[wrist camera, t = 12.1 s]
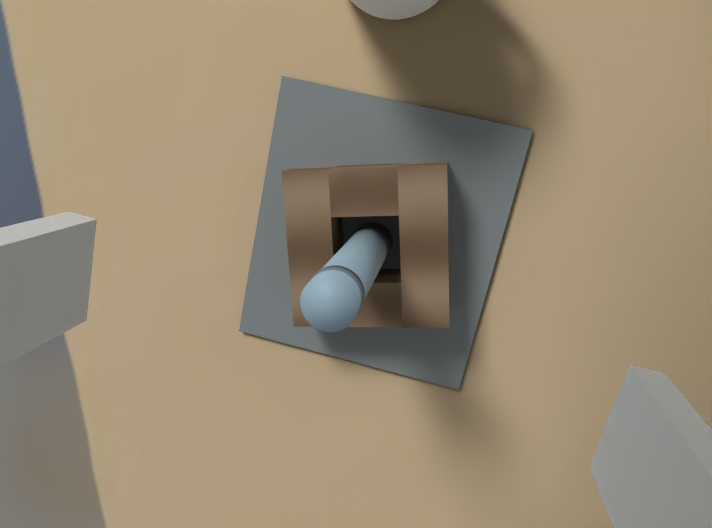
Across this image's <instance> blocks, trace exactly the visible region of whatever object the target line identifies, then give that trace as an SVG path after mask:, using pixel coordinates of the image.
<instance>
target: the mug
mask: <svg viewBox="0 0 712 528" xmlns="http://www.w3.org/2000/svg"><path fill="white" fill-rule="evenodd" d="M350 1H351V2H352V3H353V4H355V5H356V6H357V7H358V8H359V9H361V10H363V11H364V12H366V13H368V14H370V15H372V16H375V17H378V18H382V19H389V20H399V19H406V18H410V17H413V16H416V15H418V14H420V13H423V12H424V11H426V10H428V9H429V8H431V7H432V6H433V5H434V4H436V3H437V2H438V1H439V0H350Z"/></svg>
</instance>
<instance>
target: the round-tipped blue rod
mask: <svg viewBox="0 0 712 528" xmlns="http://www.w3.org/2000/svg"><path fill="white" fill-rule="evenodd" d="M391 246H392V237H391V234H390V232H389V230H388V229H387V228H386V227H385V226H383V225H382V224H379V223H367V224H365V225H363V226H362V227H361V228H360V229H359V230H358V231H357V232H356V233H355V234H354V235H353V236H352V237H351V238H350V239H349V240H348V241H347V242H346V243H345V244H344V246H343V247H342V248H341V249H340V250H339V251H338V252H337V253H336V254H335V255H334V256H333V257H332V258H331V259H330V260H329V261H328V262H327V264H326V265H325V266H324V267H323V268H322V269H321V270H319V271H318V272H317V273H316V274H315V275H314V276H313V277H312V278H311V279H310V281H309V282H308V284H307V285H306V286H305V287H304V289H303V291H302V294H301V298H300V306H301V311H302V313H303V315H304V317H305V319H306V320H307V321H308V322H309V323H310V324H311V325H312V326H313V327H315V328H317V329H319V330H321V331H325V332H336V331H340V330H343V329H345V328H346V327H348V326H349V325H350V324H351V323H352V322H353V320H354V319H355V317H356V316H357V314H358V313H359V311H360V309H361V307H362V305H363V303H364V299H365V297H366V295H367V293H368V292H369V290H370V288H371V286H372V284H373V282H374V280H375V278H376V276H377V274H378V272H379V270H380V268H381V266H382V265H383V263H384V261H385V259H386V257H387V255H388V253H389V251H390V249H391Z"/></svg>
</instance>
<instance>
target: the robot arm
mask: <svg viewBox="0 0 712 528" xmlns="http://www.w3.org/2000/svg"><path fill="white" fill-rule="evenodd" d="M96 221H97V219H94V218H90V217H86V216H83V215H79V214H75V213H72V212H65V213H61V214H57V215H52V216H48V217H44V218H40V219H36V220H32V221H27V222H23V223H19V224H15V225H10V226H6V227H2V228H0V367H2V366H3V365H5V364H7V363H9V362H11V361H13V360H14V359H16V358H18V357H20V356H22V355H24V354H25V353H27V352H29V351H31V350H33V349H35V348H36V347H38V346H40V345H42V344H44V343H46V342H47V341H49V340H51V339H53V338H55V337H57V336H58V335H60V334H62V333H64V332H66V331H68V330H69V329H71V328H73V327H75V326H77V325H79V324H80V323H82V322H84V321H86V320H87V310H88V300H89V290H90V280H91V270H92V260H93V250H94V240H95V230H96ZM589 467H590V470H591V472H592V475H593V478H594V480H595V483H596V485H597V488H598V490H599V493H600V495H601V498H602V500H603V503H604V505H605V508H606V511H607V513H608V516H609V518H610V521H611V523H612V526H613V528H712V430H711V428H710V427H709V426H708V425H707V424H706V423H705V421H704V420H703V419H702V418H701V417H700V415H699V414H698V413H697V412H696V411H695V409H694V408H693V407H692V406H691V405H690V403H689V402H688V401H687V400H686V399H685V397H684V396H683V395H682V394H681V393H680V391H679V390H678V389H677V388H676V387H675V385H674V384H673V383H672V382H671V381H670V379H669V378H668V377H667V376H666V375H665V374H664V373H660V372H657V371H653V370H649V369H646V368H642V367H638V366H635V365H631V364H630V366H629V369H628V371H627V374H626V376H625V379H624V381H623V384H622V386H621V389H620V391H619V394H618V396H617V399H616V401H615V404H614V406H613V409H612V411H611V414H610V416H609V419H608V421H607V424H606V426H605V429H604V431H603V434H602V436H601V439H600V441H599V444H598V446H597V449H596V451H595V454H594V456H593V459H592V461H591V464H590V466H589Z"/></svg>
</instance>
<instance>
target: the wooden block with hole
mask: <svg viewBox="0 0 712 528" xmlns="http://www.w3.org/2000/svg"><path fill="white" fill-rule="evenodd" d="M281 172H282V185H283V198H284V210H285V223H286V236H287V249H288V262H289V274H290V287H291V300H292V313H293V325H294V327H313V326H312V325H311V324H310V323H309V322H308V321H307V320H306V319H305V317H304V315H303V313H302V311H301V306H300V298H301V294H302V291H303V289H304V287H305V286H306V285H307V284H308V282H309V281H310V279H311V278H312V277H313V276H314V275H315V274H316V273H317V272H318V271H319V270H321V269H322V268H323V267H324V266H325V265H326V264H327V262H328V261H329V260H330V259H331V258H332V257H333V256H334V255H335V254H336V253H337V252H338V251H339V250H340V249H341V248H342V247H343V246H344V239H343V221H342V217H362V216H399V234H400V264H401V269H380V270H379V272H378V274H377V276H376V278H375V280H374V282H373V284H372V286H371V288H370V290H369V292H368V293H367V295H366V297H365V299H364V303H363V305H362V307H361V309H360V311H359V313H358V314H357V316H356V317H355V319H354V320H353V322H352V323H351V324H350V325H349V326H348V327H418V328H449V325H450V299H449V225H448V161H438V162H414V163H391V164H367V165H343V166H319V167H297V168H293V169H289V170H285V171H281Z"/></svg>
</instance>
